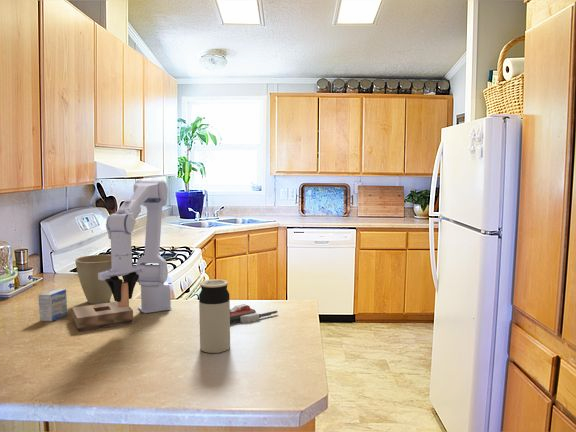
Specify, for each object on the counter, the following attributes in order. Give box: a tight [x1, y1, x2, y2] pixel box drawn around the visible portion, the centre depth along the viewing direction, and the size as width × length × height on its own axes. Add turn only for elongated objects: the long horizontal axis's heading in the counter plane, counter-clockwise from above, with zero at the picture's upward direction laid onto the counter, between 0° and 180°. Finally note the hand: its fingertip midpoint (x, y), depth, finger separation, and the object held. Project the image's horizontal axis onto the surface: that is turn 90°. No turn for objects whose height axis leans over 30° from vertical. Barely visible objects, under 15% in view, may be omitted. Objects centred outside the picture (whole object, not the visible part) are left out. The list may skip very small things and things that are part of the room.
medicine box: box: [38, 288, 68, 323], centre depth 157 cm, size 8×4×9 cm, turn 168°
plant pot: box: [74, 254, 113, 305], centre depth 176 cm, size 15×15×16 cm
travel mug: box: [198, 278, 231, 354], centre depth 130 cm, size 8×8×18 cm
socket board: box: [71, 301, 134, 332], centre depth 154 cm, size 16×13×4 cm
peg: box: [118, 281, 130, 308], centre depth 144 cm, size 3×3×7 cm
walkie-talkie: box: [230, 303, 279, 325], centre depth 157 cm, size 9×4×20 cm
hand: (123, 299), depth 144 cm, fingers closed on peg, 3 cm apart
